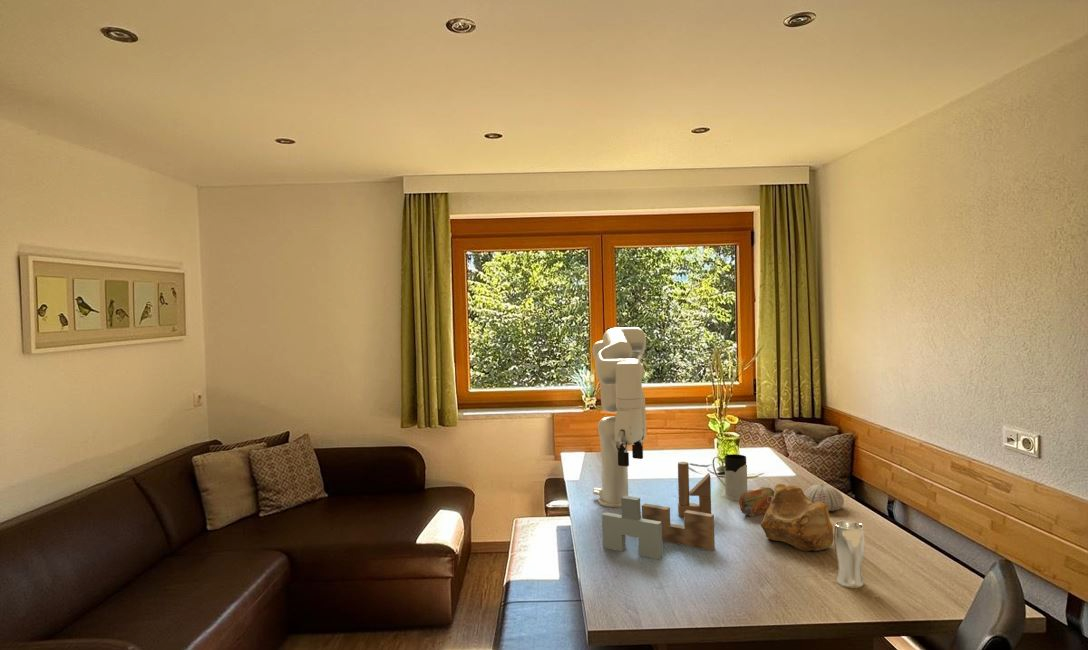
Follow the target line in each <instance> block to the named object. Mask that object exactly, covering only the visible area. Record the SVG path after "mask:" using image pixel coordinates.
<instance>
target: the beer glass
mask: <svg viewBox="0 0 1088 650" xmlns="http://www.w3.org/2000/svg"><path fill="white" fill-rule="evenodd" d="M833 536H834V539H833V543H834V548H835V549H834V550H835V555H836V560H837V561H836V562H837V566H838V568H837V577H836V582H837V583H838V584H839V585H840V586H842V587H845V588H851V589H859V588H862V587H863V586H864V581H863V576H862V575H863V574H862V566H863V560H864V555H865V548H866V547H865V546H866V545H865V544H866V543H865V540H866V539H865V531H864V525H863V524H862V523H860V522H857V521H853V520H843V519H842V520H837V521H835V523H834V530H833Z"/></svg>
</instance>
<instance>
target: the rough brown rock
mask: <svg viewBox="0 0 1088 650" xmlns="http://www.w3.org/2000/svg"><path fill="white" fill-rule="evenodd" d="M773 491H774V496H773V499H772V501H771V503H770V506H769V508H768V509H767V511H766V513H764V516H763V518H762V521H761V522H760V527H761V528H762V530H763V532H764V534H765V537H766V538H767V539H769V540H771V541H775V542H779V541H780V542H783V543H786V544H789V545H791V546H793V547H794V548H796V549H798V550H800V551H803V552H808V553H809V551H814V552H817V551H822V550H825V549H826V550H827V549H828V548H829V547H831V546H832V545H833V543H834V528H833V527H834V526H833V525H832V522H831V518H830V517H831V516H830V511H828V507H827V506H826V505H825V504H824V503H822V502H816V503H815V504H813V502H812V501H811V500H810V499H809V498H808V497H806V496H805V495H804V493H805V492H804V491H803V489H802V488H801V487H800V486H797V485H794V484H789V485H786V484H783V483H777V484H776V485H774V490H773Z"/></svg>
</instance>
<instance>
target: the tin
mask: <svg viewBox="0 0 1088 650" xmlns="http://www.w3.org/2000/svg"><path fill="white" fill-rule="evenodd" d="M773 496H774V490H773V489H772V488H771V487H766V486H760V487H756V488H752V489H747V491H745V492H743V493H742V495H741V497H740V501H739V509H740V511H741V512H742V513H743V514H744V515H747V516H749V517H755V516H759V515H763V514H765V513H766V511H767V509H768V508H769V506H770V503H771V501H772V499H773Z"/></svg>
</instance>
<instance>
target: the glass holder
mask: <svg viewBox="0 0 1088 650" xmlns="http://www.w3.org/2000/svg"><path fill="white" fill-rule="evenodd" d="M717 458H718V459H719V460H720V462H721V467H722V469H723V470H724V481H723V480H722V479H721V477H720V476H719V475H718V473H717V471H716V467H715V459H717ZM724 460H725V461H724ZM724 460H723V459H722V457H720V456H714V457H713V459H712V469H713V471H714V474H715V476H716V478H717V479H718V480H719V481H720V483H721V484H722V485H723V486H724V487H725V489H724V490H725V493H724V497H723V498H725V499H727V500H729V501H739V502H740V497H741V495H742V493H743V492H745V491H747V490H748V465H747V456H745V455H743V454H735V453H734V454H731V453H730V454H726V455H725V456H724ZM724 463H725V464H724ZM724 465H725V466H724Z"/></svg>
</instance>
